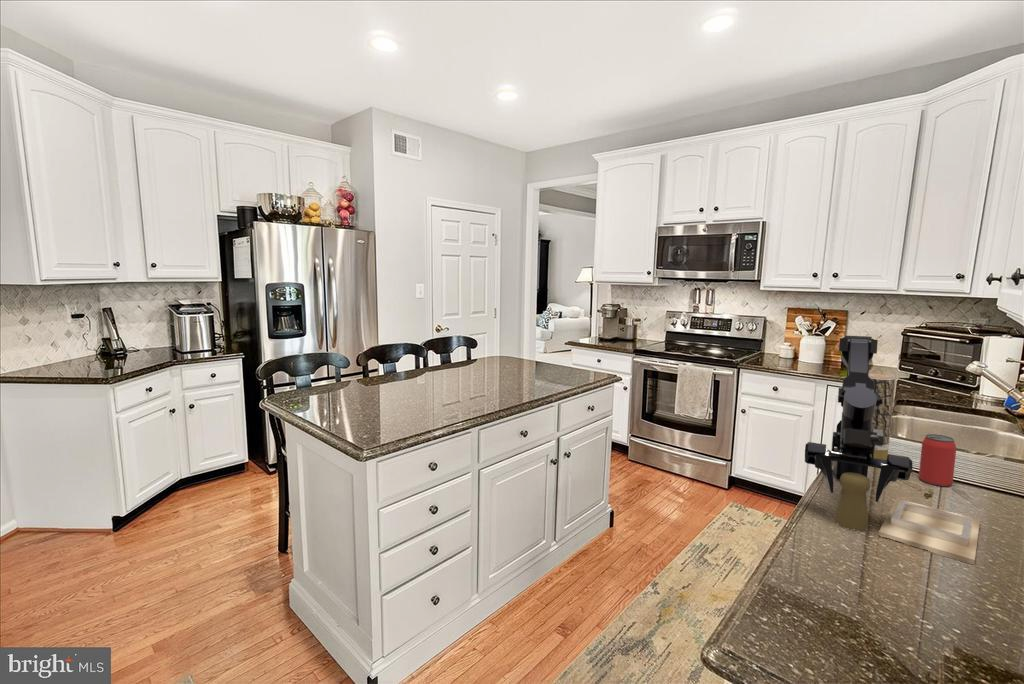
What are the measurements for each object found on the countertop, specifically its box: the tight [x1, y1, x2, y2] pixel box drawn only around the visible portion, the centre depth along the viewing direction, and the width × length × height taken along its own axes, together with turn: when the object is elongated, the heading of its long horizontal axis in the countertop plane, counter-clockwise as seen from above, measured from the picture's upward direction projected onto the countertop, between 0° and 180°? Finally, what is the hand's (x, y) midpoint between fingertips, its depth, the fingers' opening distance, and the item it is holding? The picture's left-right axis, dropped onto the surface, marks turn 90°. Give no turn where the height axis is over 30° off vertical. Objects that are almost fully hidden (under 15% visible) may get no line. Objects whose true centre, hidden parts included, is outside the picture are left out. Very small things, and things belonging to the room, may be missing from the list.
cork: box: [834, 472, 871, 531], centre depth 101 cm, size 6×6×11 cm
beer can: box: [918, 433, 957, 487], centre depth 122 cm, size 7×7×12 cm
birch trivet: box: [877, 498, 981, 566], centre depth 99 cm, size 14×22×1 cm, turn 134°
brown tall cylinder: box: [869, 373, 895, 460], centre depth 137 cm, size 7×7×25 cm
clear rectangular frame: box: [891, 501, 972, 546], centre depth 99 cm, size 12×12×2 cm
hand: (853, 496), depth 100 cm, fingers open, 7 cm apart
